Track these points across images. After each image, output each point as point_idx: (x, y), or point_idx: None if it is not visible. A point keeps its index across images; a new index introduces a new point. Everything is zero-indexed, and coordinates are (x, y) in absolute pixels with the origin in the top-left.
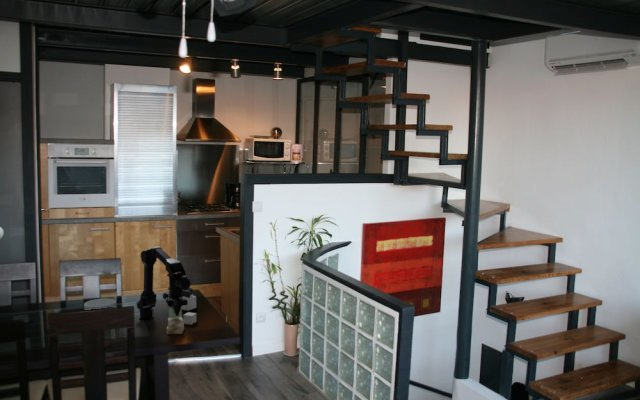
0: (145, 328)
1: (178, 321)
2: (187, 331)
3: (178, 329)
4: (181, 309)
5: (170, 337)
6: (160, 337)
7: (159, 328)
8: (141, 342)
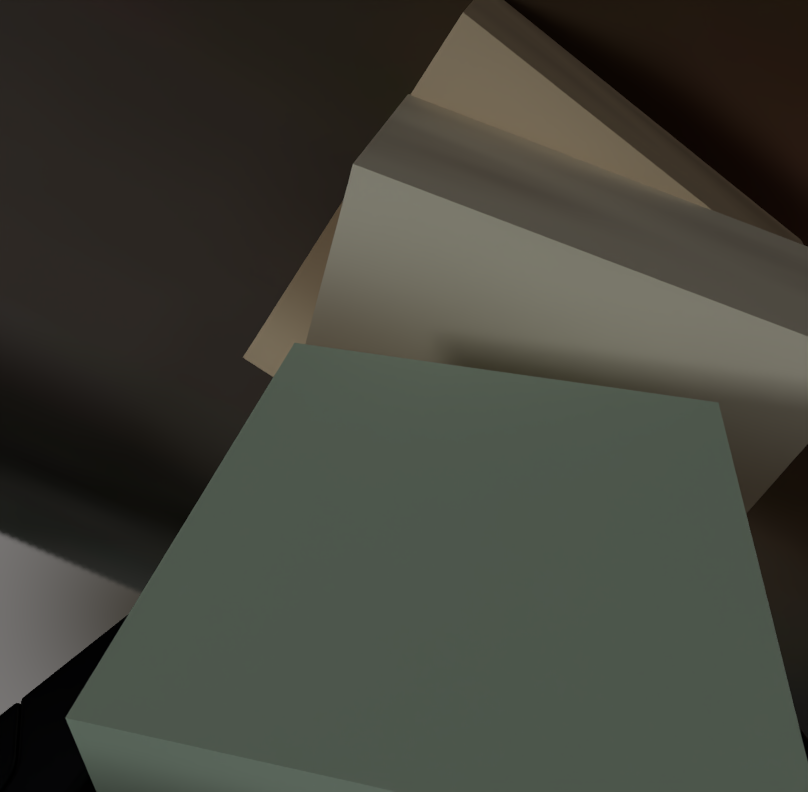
0: (96, 526)
1: (760, 491)
2: (777, 37)
3: None
4: (799, 747)
5: (768, 507)
6: None
7: (187, 399)
8: None
